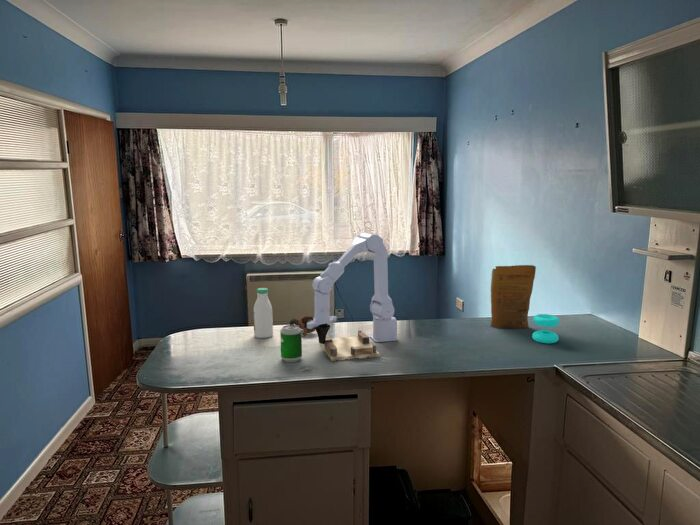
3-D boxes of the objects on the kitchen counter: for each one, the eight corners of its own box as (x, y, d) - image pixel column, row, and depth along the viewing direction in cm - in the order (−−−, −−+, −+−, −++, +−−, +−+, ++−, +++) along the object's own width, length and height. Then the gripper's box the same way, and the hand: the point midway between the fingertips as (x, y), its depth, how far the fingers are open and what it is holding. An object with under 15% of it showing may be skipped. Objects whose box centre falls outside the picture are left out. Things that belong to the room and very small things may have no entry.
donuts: (554, 321, 191) (529, 316, 197) (553, 346, 193) (527, 340, 199) (563, 316, 198) (538, 312, 205) (562, 340, 200) (537, 335, 206)
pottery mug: (316, 329, 216) (320, 316, 211) (313, 345, 208) (317, 331, 204) (289, 323, 215) (292, 309, 210) (285, 338, 207) (288, 324, 202)
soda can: (305, 357, 180) (304, 325, 178) (296, 364, 173) (295, 331, 171) (286, 354, 183) (286, 323, 181) (277, 361, 176) (276, 329, 174)
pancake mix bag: (534, 330, 214) (538, 266, 209) (489, 329, 215) (492, 265, 211) (530, 325, 220) (533, 263, 216) (486, 324, 222) (489, 263, 217)
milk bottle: (276, 334, 207) (275, 288, 204) (264, 339, 200) (262, 291, 197) (263, 332, 211) (261, 286, 208) (250, 336, 204) (248, 289, 201)
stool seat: (362, 338, 202) (362, 329, 201) (379, 356, 181) (379, 346, 180) (319, 342, 197) (318, 333, 196) (331, 361, 176) (331, 350, 176)
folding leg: (321, 341, 194) (321, 334, 194) (327, 340, 195) (327, 334, 195) (325, 347, 187) (325, 340, 187) (332, 346, 188) (332, 339, 188)
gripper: (327, 303, 195) (327, 336, 197) (300, 310, 184) (301, 345, 186) (340, 306, 190) (340, 340, 192) (314, 313, 179) (314, 349, 181)
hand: (322, 343), depth 189 cm, fingers closed, pressing on folding leg
